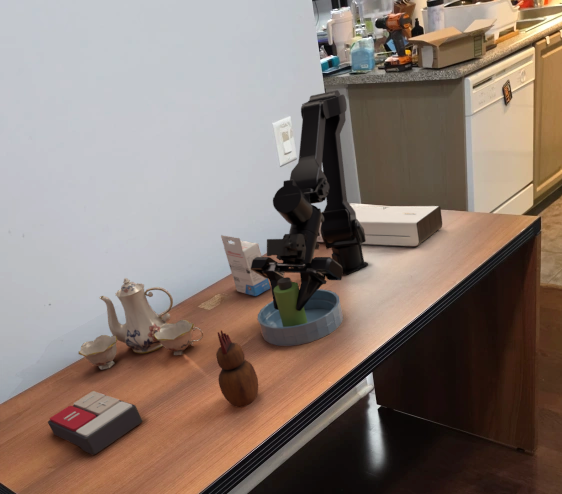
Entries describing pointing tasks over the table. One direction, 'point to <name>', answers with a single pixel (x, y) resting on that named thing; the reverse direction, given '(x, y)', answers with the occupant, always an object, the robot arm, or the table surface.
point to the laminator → (396, 224)
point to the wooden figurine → (235, 373)
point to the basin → (321, 322)
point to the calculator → (95, 421)
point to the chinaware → (138, 328)
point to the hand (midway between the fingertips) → (286, 309)
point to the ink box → (244, 266)
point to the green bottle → (289, 303)
